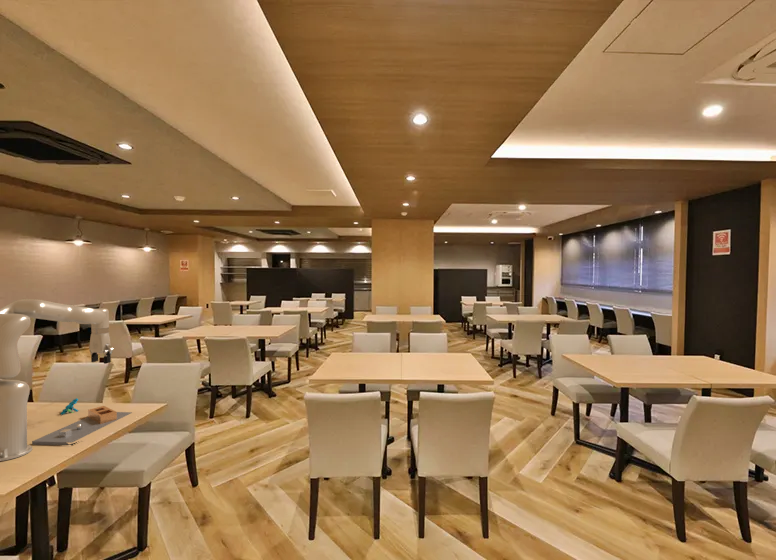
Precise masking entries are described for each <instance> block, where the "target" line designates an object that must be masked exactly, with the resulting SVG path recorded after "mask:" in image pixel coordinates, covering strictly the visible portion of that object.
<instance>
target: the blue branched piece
mask: <svg viewBox="0 0 776 560" xmlns="http://www.w3.org/2000/svg"><path fill="white" fill-rule="evenodd" d="M78 401H79V399H78V398H74V399H73V400H72V401H70V402H68V404H66V406H65V408H64V409H62V411H61V412H60V415H61V416H64V415H66V413H69V414H74V412H79V410H78V409H77V408H75V407H74V406H75V405H76V404H77V402H78Z"/></svg>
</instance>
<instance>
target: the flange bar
mask: <svg viewBox="0 0 776 560" xmlns="http://www.w3.org/2000/svg"><path fill="white" fill-rule="evenodd" d="M87 410H88V411H87V415H88V416H87V417H89V418H90V419H92V420H94V421H96V422H98V423H99V424H103V423H106V422H110V421H113V420H117V412H118V411H116V410H113V408H112V409H111V408H110V407H107V406H105V405H103V406H99V407H97V406H96V407H94V408H90V409H87ZM117 421H118V420H117Z"/></svg>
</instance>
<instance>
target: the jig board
mask: <svg viewBox="0 0 776 560" xmlns="http://www.w3.org/2000/svg"><path fill="white" fill-rule="evenodd" d="M116 412H117V420H113V421H110V422H106V423H103V424H99V423H98V422H96V421H94V420H92V419H90V418H89V417H88V416H86V417H84V418H82V419H80V420H77V421H75V422H73V423H70V424H68V425H66V426H64V427H61V428H58V429H57V430H54V431H52V432H50V433H48V434H46V435H45V434H44V435H43V436H41V437H39V438H37V439H34V440H32V442H31V446H32V445H35V446H37V445H38V446H39V445H40V446H62V445H73V444H75V443H77V442H78V440H81V439H82V438H85V437H86V436H88V435H90V434H92V433H94V432H96V431H98V430H101V429H102V428H104V427H107V426H108V425H110V424H113V423H114V422H117V421H119V420H120V419H123V418H125V417H126V416H128V415H130V414H133V413H134V412H131V411H129V412H126V411H116ZM77 444H78V443H77ZM75 445H76V444H75ZM73 446H74V445H73Z"/></svg>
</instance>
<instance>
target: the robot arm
mask: <svg viewBox="0 0 776 560" xmlns="http://www.w3.org/2000/svg"><path fill="white" fill-rule="evenodd" d="M31 319H39V320H45V321H46V320H47V321H53V322H61V323H62V322H64V323H65V322H66V323H70V322H71V323H77V324H80V325H91V334H90V338H89V339H90V340H89V345H88V350H89V352H90V356H91V357H90V358H91V359H90V362H91V363H95V362H96V363H97V362H98V361H99V354H103V355H104V356H103V364H104V365H105V364H110V363H111V362H112V361H111V359H112V358H111V356H112V353H113V351H114V348H113V347H112V346H111V337H110V312H109V309H108V308H102V307H101V308H92V307H86V306H78V305H72V304H66V303H61V302H54V301H49V300H44V299H36V298H35V299H29V298H28V299H24V298H22V299H18V300H15V301H13V302H11V303H9V304H7V305H5V306H2V308H0V462H3V461H5V462H6V461H9V460H14V459H16V458H19V457H22V456H24V455H27V454H29V453H30V452H32V450H33V446H32V444H31V445H30V444H28V402H29V401H28V400H29V395H30V392H31V388H30V385H29V384H28V383H27V382H26V381H23V380H18V379H12V378H15V377H17V376H18V375H19V374H20V372H21V371H22V367H21V366H22V365H21V362H20V361H21V359H20V355H19V349H18V341H19V339H20V338H21V337H22V335H23V334H25V332H26V331H28V329H29V328H30V326H31V323H32V321H31Z"/></svg>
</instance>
